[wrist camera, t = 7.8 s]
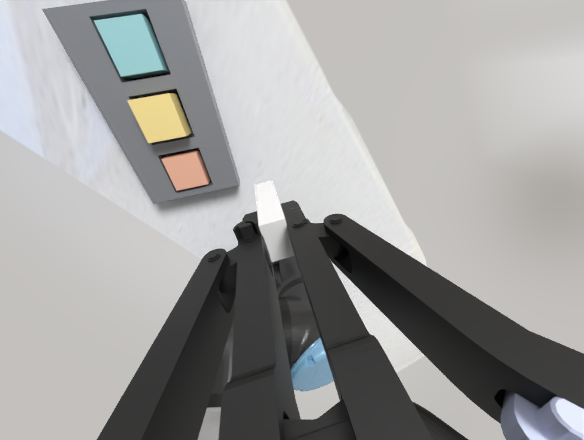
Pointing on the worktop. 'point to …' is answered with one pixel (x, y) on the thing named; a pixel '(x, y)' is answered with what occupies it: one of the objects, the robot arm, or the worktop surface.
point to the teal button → (133, 46)
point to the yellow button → (160, 117)
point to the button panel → (150, 90)
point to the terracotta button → (186, 169)
